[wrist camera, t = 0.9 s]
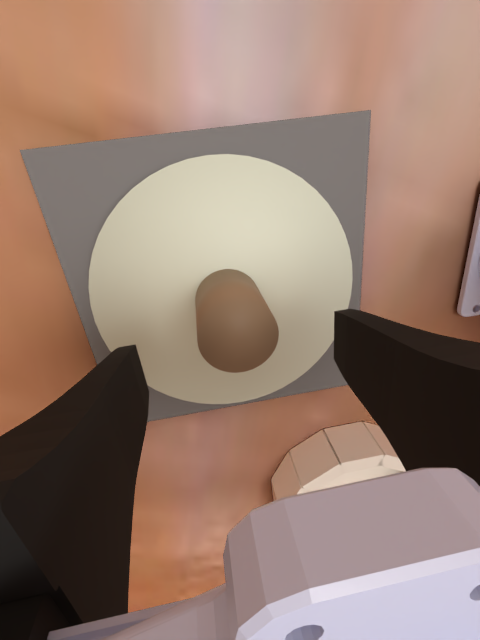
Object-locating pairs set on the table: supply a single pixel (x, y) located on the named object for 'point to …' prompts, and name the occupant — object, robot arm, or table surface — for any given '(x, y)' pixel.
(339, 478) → the bowl
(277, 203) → the lid
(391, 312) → the table surface
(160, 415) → the mat
